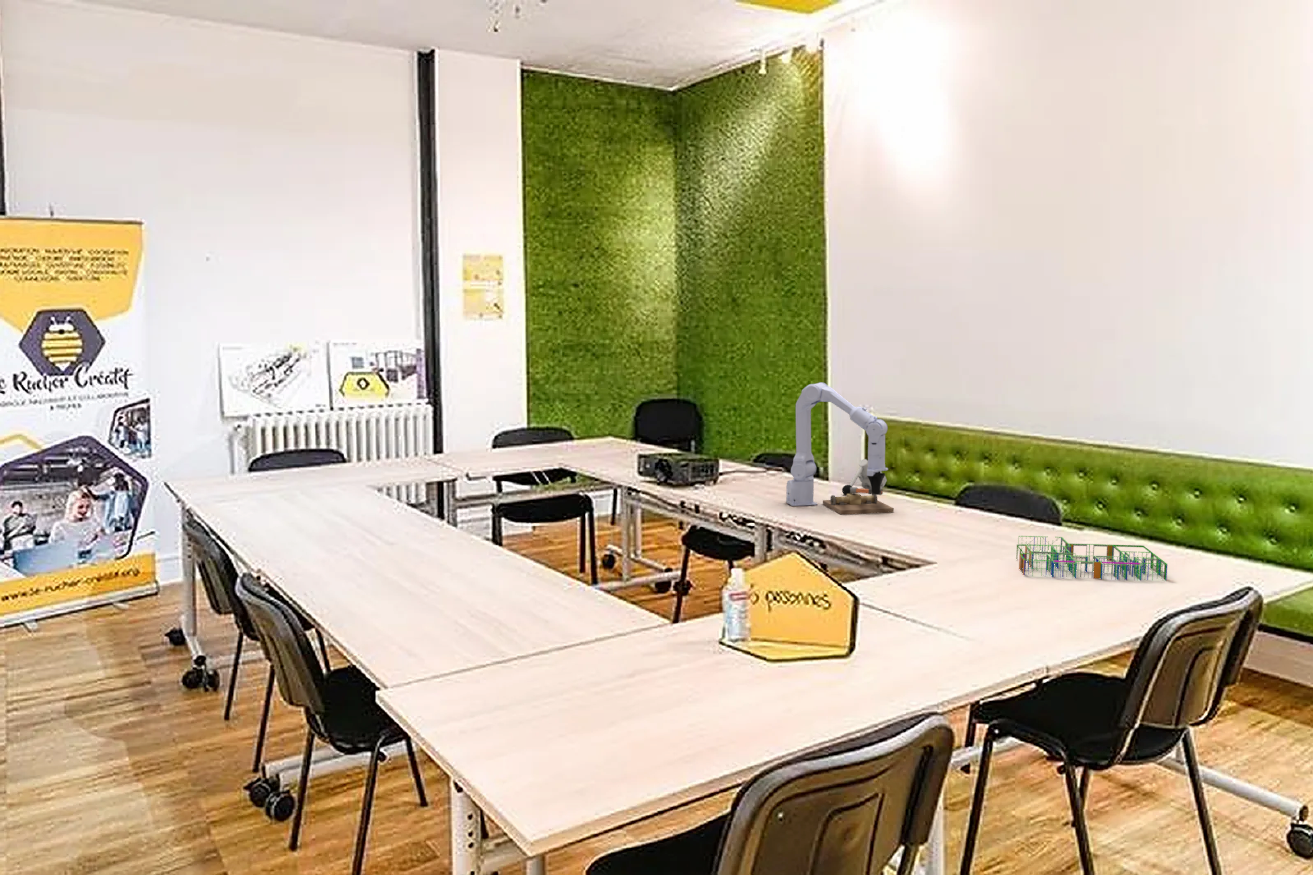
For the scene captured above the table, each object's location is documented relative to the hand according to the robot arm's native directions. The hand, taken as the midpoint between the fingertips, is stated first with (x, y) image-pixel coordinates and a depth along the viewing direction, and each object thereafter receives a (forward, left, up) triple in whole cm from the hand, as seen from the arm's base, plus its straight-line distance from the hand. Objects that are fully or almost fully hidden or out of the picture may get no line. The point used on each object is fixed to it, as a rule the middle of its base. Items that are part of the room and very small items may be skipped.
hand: (875, 493), depth 352 cm
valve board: (-5, +5, -6) cm, 9 cm away
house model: (+27, -82, -7) cm, 87 cm away
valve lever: (-2, +4, 0) cm, 4 cm away
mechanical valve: (+8, +34, -6) cm, 36 cm away
